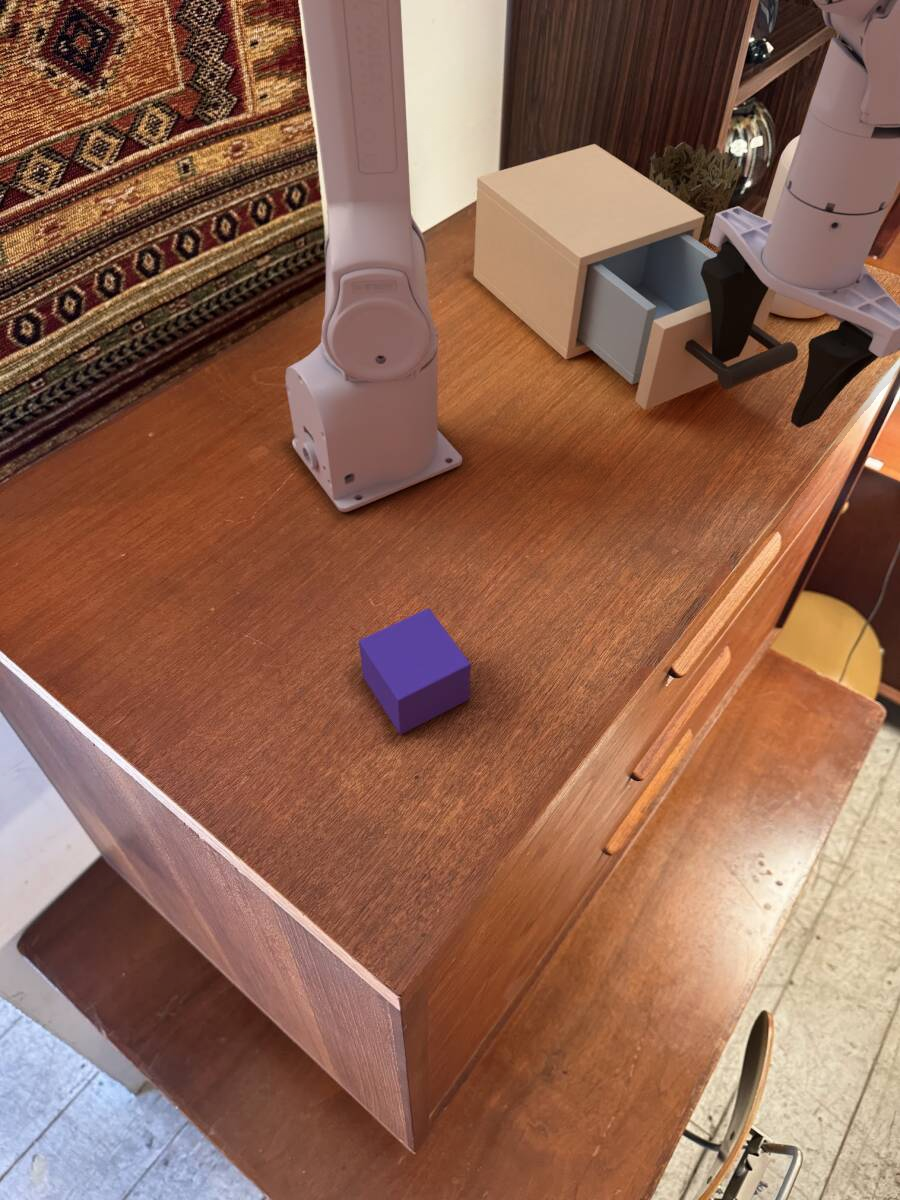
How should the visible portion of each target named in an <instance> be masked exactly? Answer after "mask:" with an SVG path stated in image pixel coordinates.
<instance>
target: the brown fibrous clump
mask: <svg viewBox="0 0 900 1200" xmlns="http://www.w3.org/2000/svg"><path fill="white" fill-rule="evenodd" d="M656 154H657V153H656V152H654V153H653V155H651V156H650V158H649V162H650V166H649V175H648V179H649V180H651V181H652V182H654V183H655V184H657V185H658V186H660V187H661V188H663V189H664V190H666V191H667V192H669V193H670V194H672V195H674V196H675V197H677V198H678V199H680V200H681V201H683V202H684V203H686V204H687V205H689V206H690V207H692V208H693V209H695V210H696V211H698V212H699V213H701V214H702V215H704V216H705V217H704V221H703V225H702V229H701V233H700V237H699V241H698V242H700V243H701V244H702V243H703V242H704V241H705V242H706V240H709V237H710V233H711V230H712V226H713V222H714V218H715V215H716V213H719V212H722V211H725V210H728V207H729V205H730V202H731V200H732V197H733V194H734V192H735V190H736V187H737V184H738V182H739V179H740V177H741V175H742V172H743V165H739V166H738V163H739V162H738V157H734V158H733V159H732V160H731V161H730V154H729V152H728V151H725V152H721V151H720V147H715V148H714V149H713V150H711V152H709V153H708V154H707V152H706V149H705V146H704V144H703V143H702V144H700V145H699V147H698V148H697V150H695V149H694V148H693V147H692V146H691V145H689V144H688V143H687V142H686V141H682V142H681V143H679V144H678V145H677V146H675V147H674V146H672V145H669V144H668V145H666V147H665V148H664V154H663V156H659V157H657V155H656ZM656 157H657V158H656Z"/></svg>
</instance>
